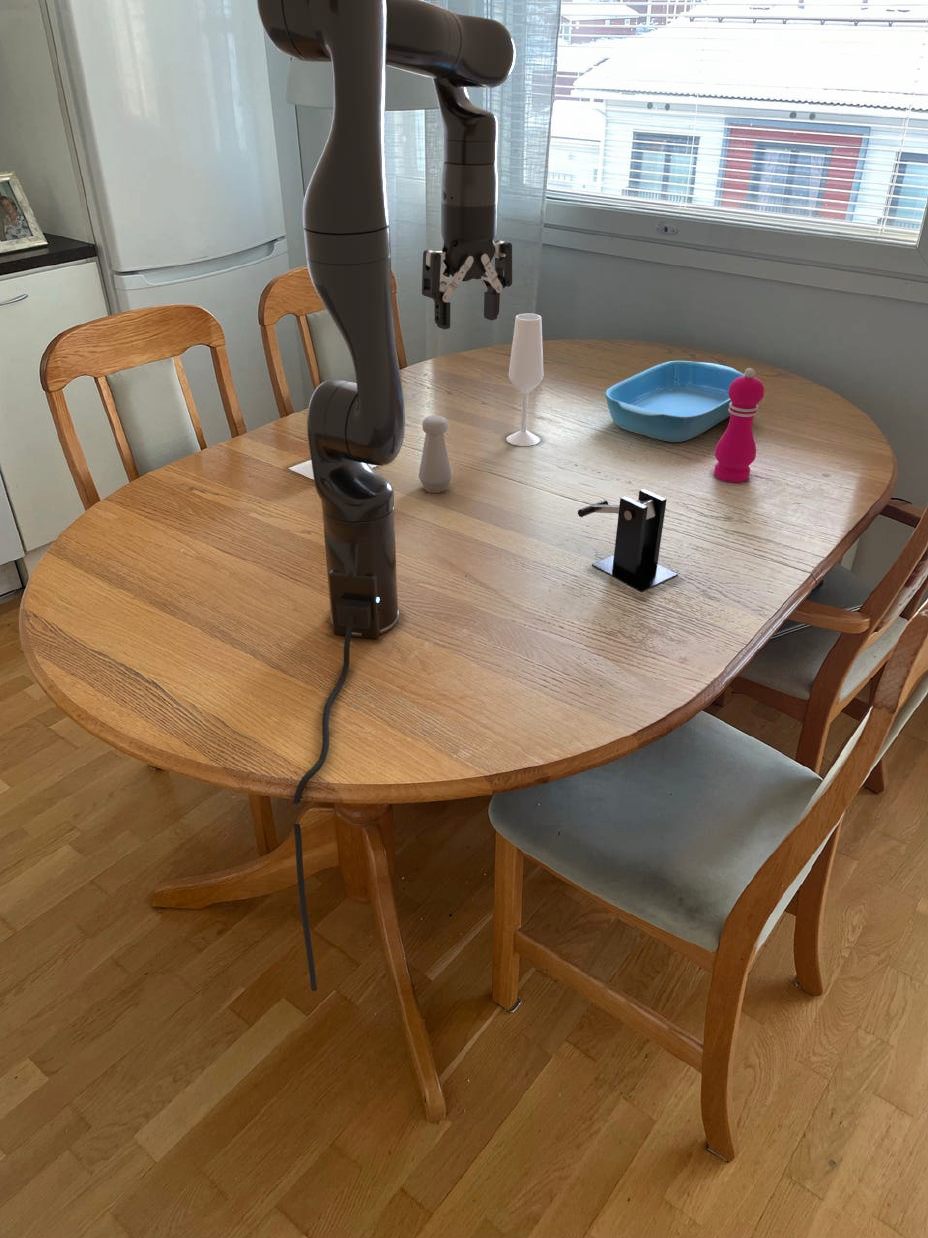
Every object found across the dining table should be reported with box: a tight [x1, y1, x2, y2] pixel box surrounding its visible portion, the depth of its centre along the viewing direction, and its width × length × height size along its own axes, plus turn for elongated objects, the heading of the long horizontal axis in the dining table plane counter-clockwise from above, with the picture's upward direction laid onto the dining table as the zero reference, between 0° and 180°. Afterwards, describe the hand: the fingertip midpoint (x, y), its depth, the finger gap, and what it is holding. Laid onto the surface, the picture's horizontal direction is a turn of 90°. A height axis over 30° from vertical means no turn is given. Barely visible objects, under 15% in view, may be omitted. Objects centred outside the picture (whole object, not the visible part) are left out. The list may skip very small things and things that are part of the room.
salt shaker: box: [418, 415, 453, 494], centre depth 160 cm, size 6×6×13 cm
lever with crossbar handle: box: [577, 499, 655, 520], centre depth 136 cm, size 12×6×2 cm, turn 39°
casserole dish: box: [604, 360, 745, 443], centre depth 192 cm, size 37×22×7 cm, turn 140°
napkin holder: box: [287, 459, 379, 481], centre depth 170 cm, size 15×11×6 cm
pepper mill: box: [713, 367, 765, 483], centre depth 164 cm, size 7×7×20 cm
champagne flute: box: [506, 313, 544, 447], centre depth 177 cm, size 7×7×24 cm
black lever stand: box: [591, 488, 679, 593], centre depth 135 cm, size 10×8×13 cm
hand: (467, 323), depth 131 cm, fingers open, 8 cm apart
